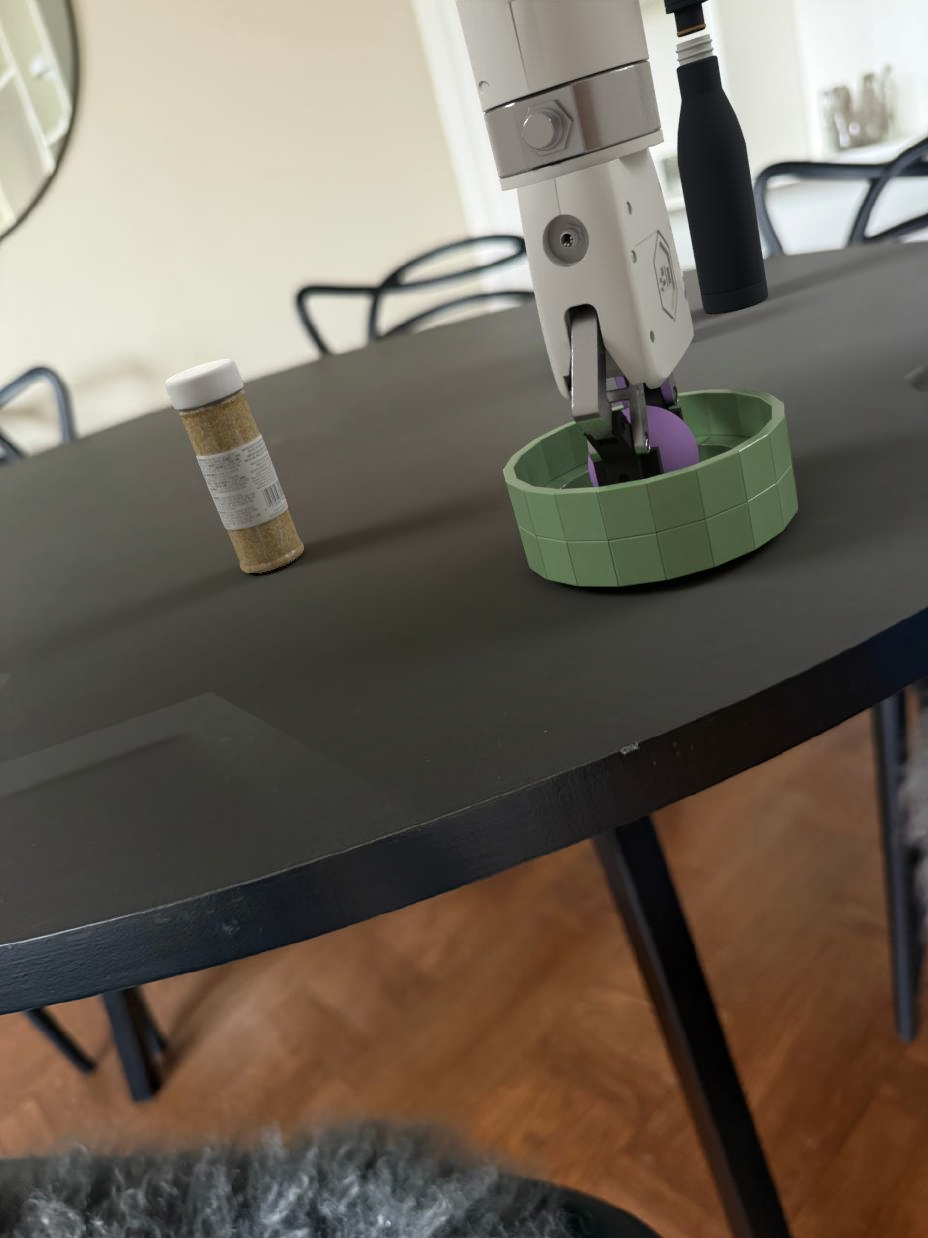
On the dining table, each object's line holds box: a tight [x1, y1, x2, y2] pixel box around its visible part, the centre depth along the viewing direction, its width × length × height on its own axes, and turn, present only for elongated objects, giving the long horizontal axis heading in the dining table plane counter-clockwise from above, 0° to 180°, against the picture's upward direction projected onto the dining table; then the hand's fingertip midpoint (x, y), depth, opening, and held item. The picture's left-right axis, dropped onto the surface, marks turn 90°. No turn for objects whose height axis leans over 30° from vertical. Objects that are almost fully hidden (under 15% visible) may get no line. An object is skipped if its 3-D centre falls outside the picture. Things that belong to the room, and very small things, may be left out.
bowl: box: [502, 388, 799, 588], centre depth 51 cm, size 14×14×6 cm
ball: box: [588, 406, 699, 487], centre depth 51 cm, size 6×6×6 cm
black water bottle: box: [663, 0, 769, 315], centre depth 94 cm, size 6×6×30 cm
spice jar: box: [164, 358, 305, 574], centre depth 64 cm, size 5×5×13 cm
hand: (652, 501), depth 52 cm, fingers closed on ball, 5 cm apart
